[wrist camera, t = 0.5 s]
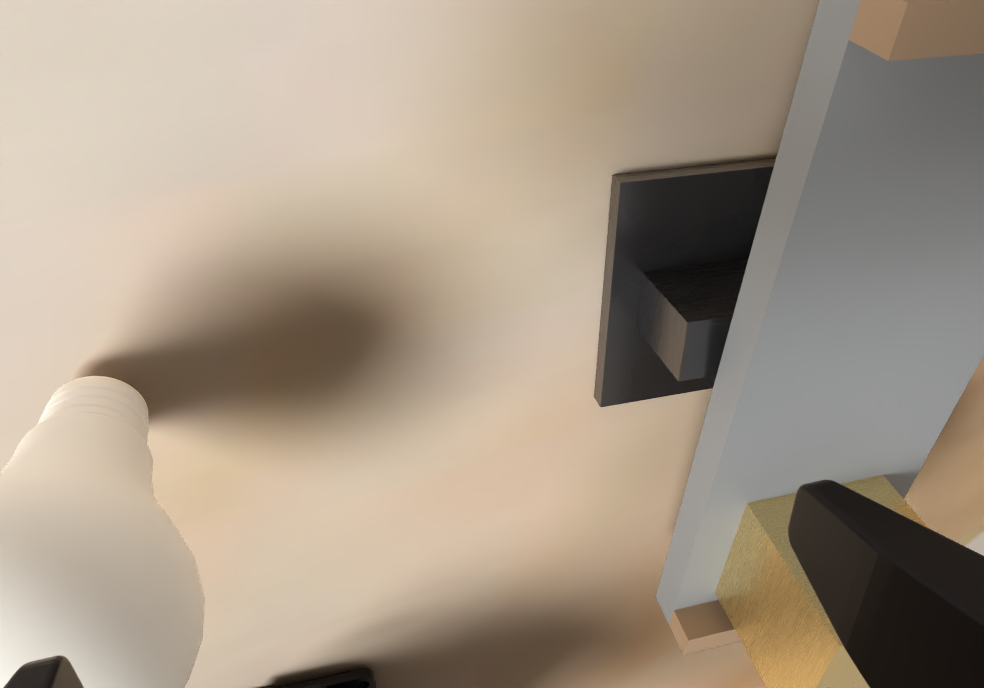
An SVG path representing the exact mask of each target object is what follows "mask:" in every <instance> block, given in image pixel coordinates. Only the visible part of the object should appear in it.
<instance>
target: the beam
mask: <svg viewBox="0 0 984 688" xmlns="http://www.w3.org/2000/svg"><path fill="white" fill-rule="evenodd" d="M983 356H984V0H820V1H819V4H818V8H817V12H816V15H815V19H814V23H813V26H812V30H811V33H810V37H809V41H808V44H807V48H806V52H805V55H804V59H803V63H802V66H801V70H800V73H799V77H798V81H797V84H796V88H795V92H794V95H793V99H792V103H791V106H790V110H789V114H788V117H787V121H786V124H785V128H784V132H783V135H782V139H781V143H780V146H779V150H778V154H777V157H776V161H775V165H774V168H773V172H772V175H771V179H770V183H769V186H768V190H767V194H766V197H765V201H764V205H763V208H762V212H761V215H760V219H759V223H758V226H757V230H756V234H755V237H754V241H753V245H752V248H751V252H750V256H749V259H748V263H747V266H746V270H745V274H744V277H743V281H742V285H741V288H740V292H739V296H738V299H737V303H736V306H735V310H734V314H733V317H732V321H731V325H730V328H729V332H728V336H727V339H726V343H725V347H724V350H723V354H722V357H721V361H720V365H719V368H718V372H717V376H716V379H715V383H714V387H713V390H712V394H711V398H710V401H709V405H708V408H707V412H706V416H705V419H704V423H703V427H702V430H701V434H700V438H699V441H698V445H697V448H696V452H695V456H694V459H693V463H692V467H691V470H690V474H689V478H688V481H687V485H686V489H685V492H684V496H683V499H682V503H681V507H680V510H679V514H678V518H677V521H676V525H675V529H674V532H673V536H672V540H671V543H670V547H669V550H668V554H667V558H666V561H665V565H664V569H663V572H662V576H661V580H660V583H659V587H658V590H657V594H656V599H657V601H658V603H659V605H660V607H661V609H662V611H663V614H664V616H665V618H666V620H667V622H668V624H669V626H670V628H671V630H672V633H673V635H674V637H675V639H676V641H677V643H678V645H679V647H680V649H681V652H682V654H683V655H687V654H691V653H695V652H699V651H703V650H707V649H711V648H715V647H719V646H723V645H727V644H731V643H735V642H739V641H741V640H740V638H739V636H738V634H737V633H736V631H735V629H734V627H733V625H732V623H731V621H730V620H729V618H728V616H727V614H726V612H725V610H724V609H723V607H722V605H721V603H720V601H719V599H718V598H717V596H716V594H715V591H716V588H717V585H718V582H719V579H720V577H721V574H722V571H723V568H724V566H725V563H726V560H727V557H728V554H729V552H730V549H731V546H732V543H733V540H734V538H735V535H736V532H737V529H738V527H739V524H740V521H741V518H742V515H743V513H744V510H745V507H746V504H747V503H750V502H755V501H759V500H764V499H769V498H774V497H779V496H783V495H788V494H793V493H796V492H797V490H798V488H799V487H800V486H801V485H803V484H807V483H811V482H815V481H820V480H833V481H835V482H838V483H840V484H841V483H846V482H851V481H856V480H860V479H865V478H870V477H875V476H880V475H883V476H884V477H885V478H886V479H887V480H888V481H889V483H890V484H891V485H892V486H893V487H894V489H895V490H896V491H897V492H898V493H899V494H900V496H901V497H902V498H903V499H904V497H905V496H906V494H907V492H908V490H909V488H910V487H911V485H912V483H913V481H914V479H915V478H916V476H917V474H918V472H919V470H920V469H921V467H922V465H923V463H924V462H925V460H926V458H927V456H928V454H929V453H930V451H931V449H932V447H933V445H934V444H935V442H936V440H937V438H938V436H939V435H940V433H941V431H942V429H943V427H944V426H945V424H946V422H947V420H948V418H949V417H950V415H951V413H952V411H953V410H954V408H955V406H956V404H957V402H958V401H959V399H960V397H961V395H962V393H963V392H964V390H965V388H966V386H967V384H968V383H969V381H970V379H971V377H972V375H973V374H974V372H975V370H976V368H977V366H978V365H979V363H980V361H981V359H982V357H983Z"/></svg>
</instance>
